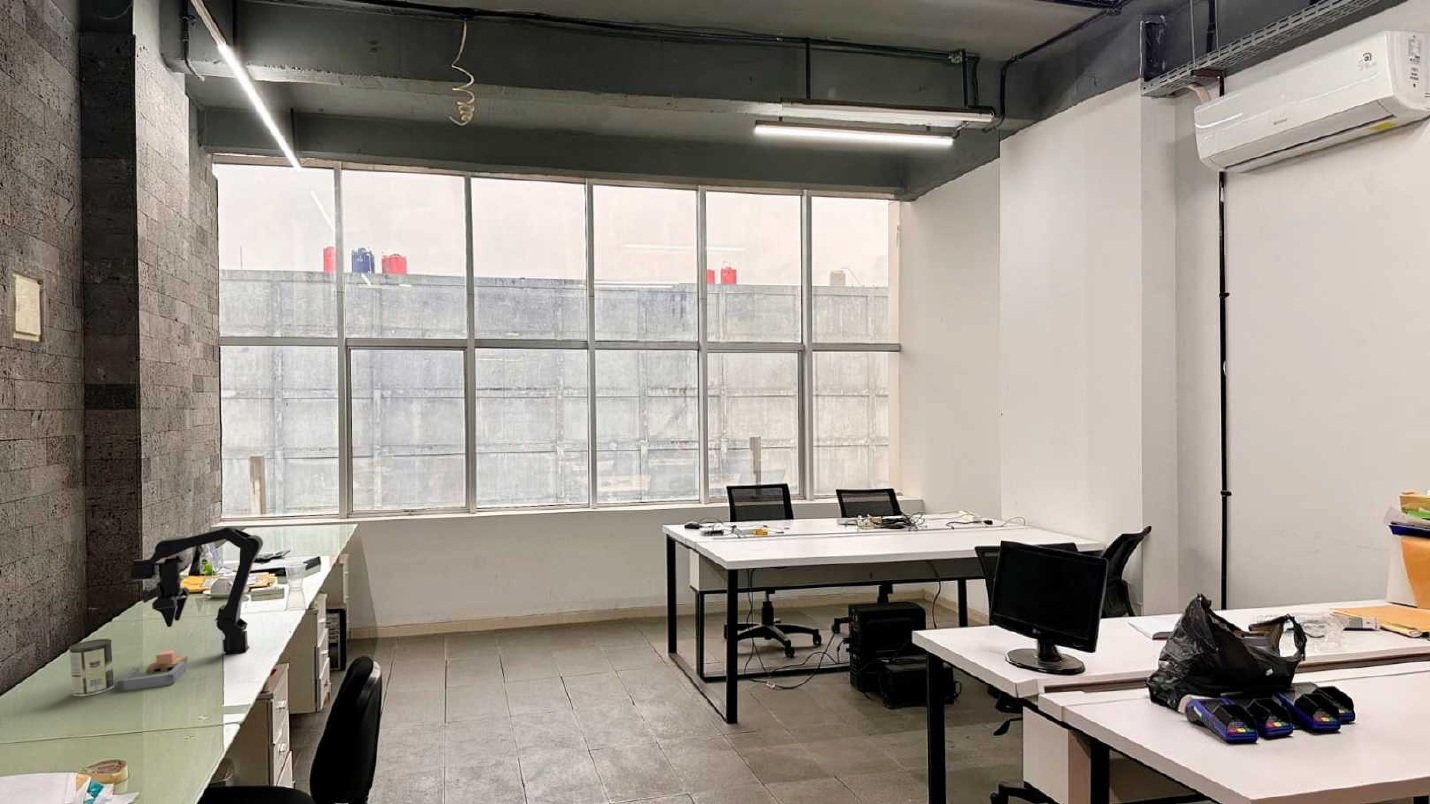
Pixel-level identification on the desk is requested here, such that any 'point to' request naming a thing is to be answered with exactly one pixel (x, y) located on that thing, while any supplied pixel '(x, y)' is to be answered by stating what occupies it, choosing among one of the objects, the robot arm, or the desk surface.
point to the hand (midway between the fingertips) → (173, 623)
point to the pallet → (165, 667)
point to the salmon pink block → (166, 657)
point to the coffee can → (91, 667)
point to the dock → (150, 678)
